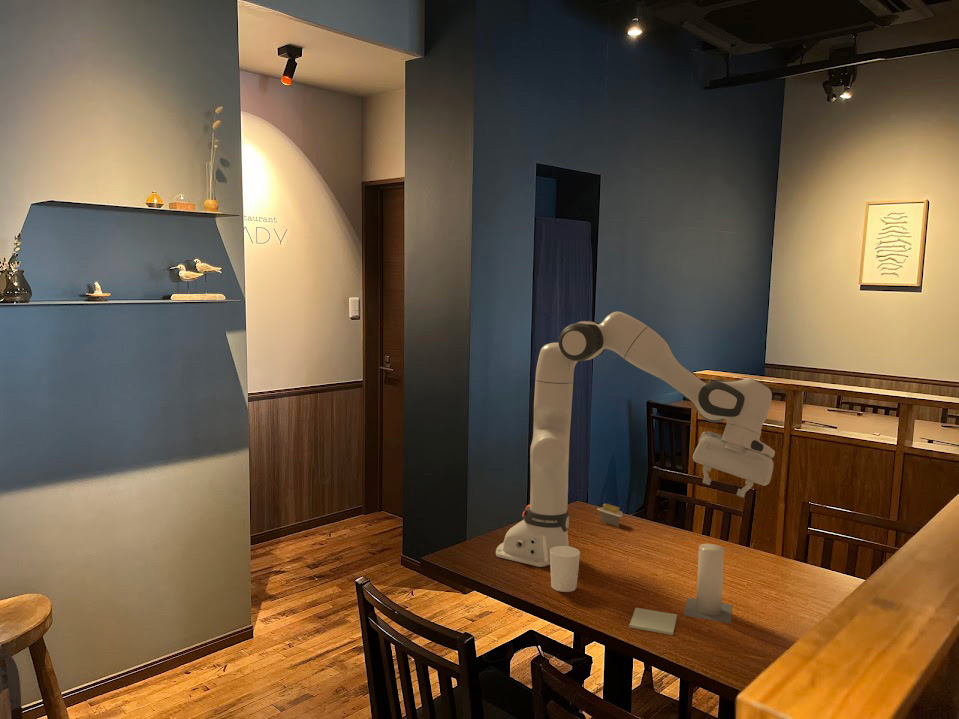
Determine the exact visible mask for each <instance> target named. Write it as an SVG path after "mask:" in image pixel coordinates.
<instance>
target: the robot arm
mask: <svg viewBox="0 0 959 719" xmlns="http://www.w3.org/2000/svg"><path fill="white" fill-rule="evenodd" d="M605 350H609V351H612V352H614V353H616V354H617V355H619V357H622V359H624V360H625V361H626V362H628V363H630V364H632V365H633V366H635V367H636V368H638V369H640V370H642V371H643V372H646V373H648V374H649V375H653V376H654V377H656V378H658V379H660V380H661V381H664V382H665V383H666V384H667V385H670V386H671V387H672V388H673V389H675V390H676V391H677V392H679V393H680V394H681V395H683V397H685V398H686V399H688V401H690V402H691V403H692V405H693V406H694V408H695V410H696V412H697V413H698V415H699V416H700V417H701V418H702V419H704V420H705V421H707V422H710V423H721V422H723V421H725V420H726V424H725V427H724V430H723V434H721V433H717V432H714V431H710V430H707V431H703V432H702V433H701V434H700V436H699V439H698V444H697V446H696V448H695V450H694V451H693V452H694V453H693V454H692V459H693V462H695V463H696V464H700V465H702V466H703V467H702V473H703V479H702V484H705V485H708V486H710V485H711V482H712V478H710V476H709V475H710V474H709V472H711V470H712V469H715V470H718V471H721V472H722V473H726V474H729V475H731V476H735V477H738V478H740V479H744V480H745V482H744V484H745V486H743V487H742V488H738V489H737V492H736V496H738V497H739V498H744V497H745V496H746V493H747V492H748V491H749V490H750V489H751V488H753V486H754V484H758V485H761V486H764V487H765V486H767V485H768V484H770V482H771V480H772V476H773V472H774V461H773V458H774V457H775V454H776V451H775V450H774V449H773V448H772V447H770V446H769V445H767V444H766V443H765V442H764V441H762V440H761V435H762V427H763V424H764V423H765V422H766V420H767V419H768V414H769V412H770V409H771V405H772V401H773V400H772V399H773V398H772V397H773V393H772V390H771V389H770V387H768V386H767V385H766V384H764V383H763V382H762V381H759V380H758V379H754V378H752V377H751V378H750V377H749V378H748V377H746V378H744V379H739V380H735V381H721V380H719V381H717V380H716V381H710V382H707V383H706V382H705V381H703V380H701V379H700V378H698V377H697V376H696V375H695V374H694V373H692V372H690V371H689V370H688V369H687V368H686V367H684V366H683V365H682V364H681V363H679V361H678V360H677V359H676V358H675V356H674V353H672V352H673V351H672V350H671V348H670V346H669V344H668V343H667V341H666V340H665V339H664V338H663V337H661V335H660V334H659V333H658V332H656V331H655V330H654V329H652V328H651V327H649V326H648V325H647V324H645V323H644V322H642V321H641V320H638V319H637V318H635V317H633V316H632V315H629V314H626V313H625V312H623V311H613V312H611V313H610V314H608V315H606V317H605V318H604V319H603V320H602V321H601V322H600V323H599V322H596V321H592V320H588V321H587V320H582V321H577V322H575V323H571V324H569V325H567V326H566V327H564V328H563V330H562V331H561V333H560V335H559V337H558V342H551V343H550V342H549V343H547V344H544V345H543V346H542V347H541V348H540V351H539V355H538V360H537V364H536V368H535V382H534V398H533V427H532V429H533V430H532V432H533V433H532V440H531V444H530V449H529V450H530V452H529V456H530V457H529V462H530V464H529V465H530V466H529V468H530V470H529V473H530V490H529V491H530V492H529V493H530V494H529V495H530V497H529V498H530V501H529V504H528V505H526V507H525V509H523V512H522V518H523V519H522V520H521V521H520V522H518V523H516V524H514V525H513V526H512V527H510V529H508V530H507V532H506V534H505V535H504V540H503V542H502V543H500V544H499V545H498V546H497V547H496V549H495V555H496V557H497V558H501V559H504V560H509V561H512V562H517V563H522V564H526V565H530V566H534V567H538V568H543V567H547V566H550V549H551V548H553V547H556V546H569V547H570V544H569V535H568V530H569V526H570V525H569V524H570V516H569V510H568V501H569V500H568V499H569V498H568V496H569V495H568V494H569V462H570V461H569V460H570V437H571V421H572V406H573V404H572V403H573V390H574V373H575V367H576V365H577V363H578V362H584V361H588V360H589V361H590V360H592V359H594V358H597V357H598V356H600V355H602V354H603V353H604V352H605Z"/></svg>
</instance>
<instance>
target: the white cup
mask: <svg viewBox="0 0 959 719" xmlns="http://www.w3.org/2000/svg"><path fill="white" fill-rule="evenodd" d="M580 553H581V551H580V550H579V549H577V548H576V547H574V546H570V545H569V546H556V547H553V548H551V549H550V565H549V568H550V583H551V584H550V585H551V589H553V590H554V591H557V592H560V593H569V592H570V593H571V592H574V591H576V589H577V588H578V578H579V571H580V570H579V568H580V567H579V566H580V555H581V554H580Z"/></svg>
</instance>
